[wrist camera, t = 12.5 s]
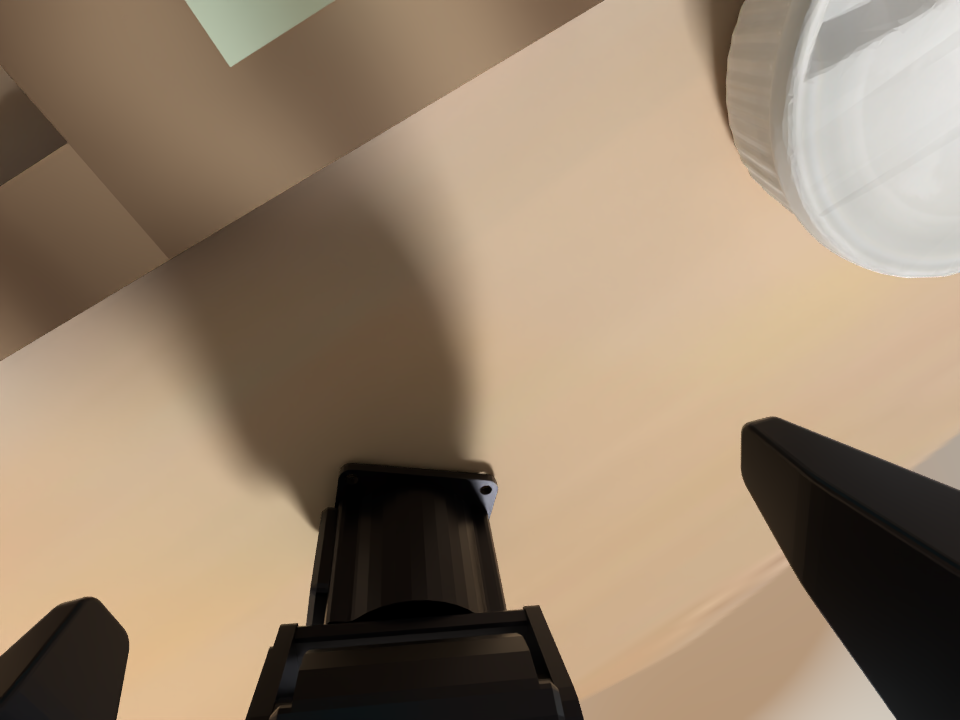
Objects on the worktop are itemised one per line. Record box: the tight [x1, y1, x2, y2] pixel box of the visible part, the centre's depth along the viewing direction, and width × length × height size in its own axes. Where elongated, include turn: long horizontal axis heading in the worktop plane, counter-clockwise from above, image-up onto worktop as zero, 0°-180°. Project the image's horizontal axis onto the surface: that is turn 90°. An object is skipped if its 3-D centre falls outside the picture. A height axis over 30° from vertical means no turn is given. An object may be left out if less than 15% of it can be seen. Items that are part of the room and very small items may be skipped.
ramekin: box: [726, 0, 960, 278], centre depth 16 cm, size 11×11×5 cm
